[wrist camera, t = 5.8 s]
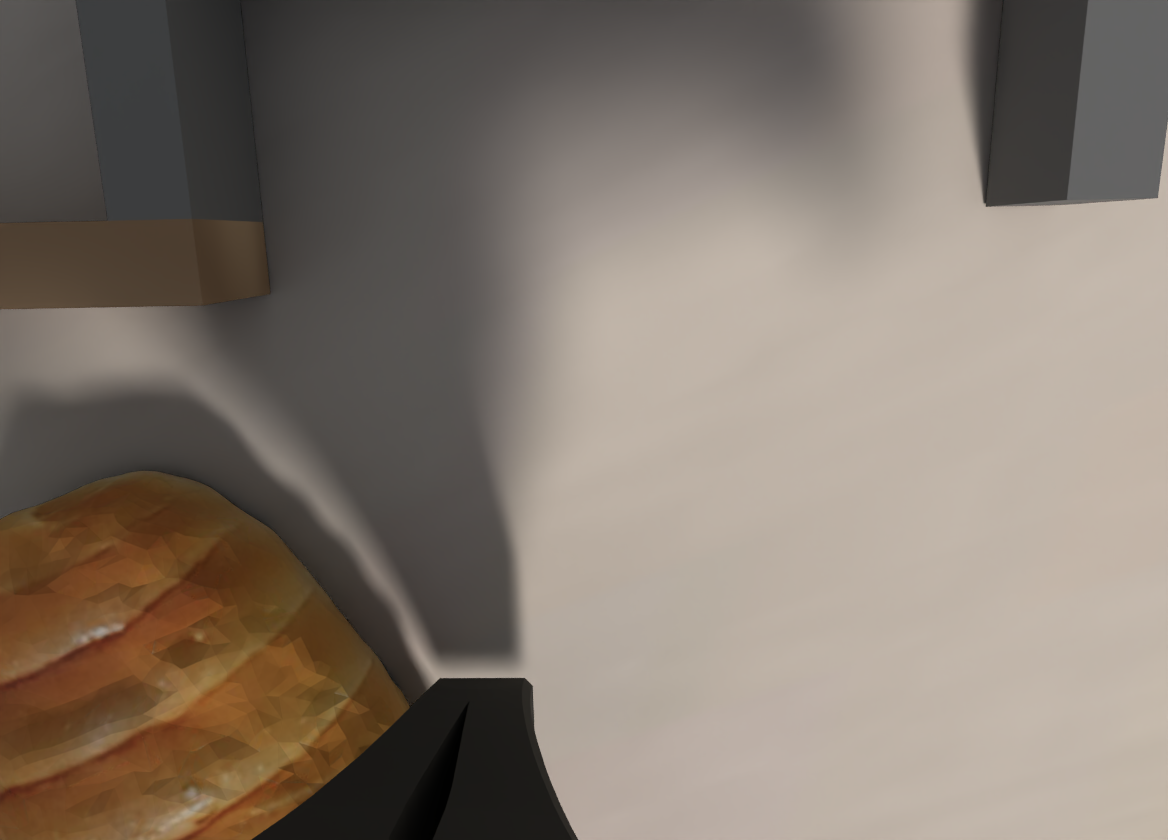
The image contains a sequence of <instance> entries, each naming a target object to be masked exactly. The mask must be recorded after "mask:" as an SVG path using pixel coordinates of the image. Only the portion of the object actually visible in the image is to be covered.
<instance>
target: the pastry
mask: <svg viewBox="0 0 1168 840" xmlns="http://www.w3.org/2000/svg"><path fill="white" fill-rule="evenodd" d="M409 708H410V706H409V704H408V703H407V701H406V699H405V697H404V695H403V693H402V691H401V690H400V689H399V688H398V687H397V686H396V685H395V684H394V682H393V681H392V680H391V678H390V676H389V675H388V673H387V671H386V669H385V667H384V666H383V664H382V663H381V661H380V660H379V658H378V657H377V656H376V654H375V653H374V652H373V651H372V650H371V648H370V647H369V646H368V645H367V644H366V643H365V642H364V641H363V640H362V639H361V638H360V636H359V635H358V634H357V632H356V631H355V630H354V629H353V627H352V626H351V625H350V624H349V622H348V621H347V620H346V619H345V617H344V616H343V615H342V614H341V612H340V611H339V610H338V609H337V608H336V606H335V605H334V603H333V602H332V600H331V599H330V598H329V596H328V595H327V594H326V592H325V591H324V590H323V589H322V587H321V586H320V585H319V584H318V582H317V581H316V580H315V579H314V577H313V576H312V575H311V574H310V573H309V571H308V570H307V569H306V568H305V567H304V565H303V564H302V563H301V562H300V561H299V560H298V559H297V557H296V556H295V555H294V554H293V553H292V552H291V551H290V549H289V548H288V547H287V546H286V544H285V543H284V542H283V541H282V540H281V539H280V537H279V536H278V535H277V534H276V533H275V532H274V531H273V530H272V529H270V528H269V527H267V526H266V525H264V524H263V523H261V522H260V521H258V520H256V519H255V518H253V517H252V516H250V515H248V514H247V513H245V512H244V511H242V510H241V509H239V508H238V507H236V506H235V505H234V504H232V503H231V502H229V501H228V500H227V499H225V498H224V497H223V496H222V495H220V494H219V493H218V492H216V491H215V490H214V489H212V488H210V487H208V486H207V485H204V484H202V483H200V482H197V481H194V480H190V479H187V478H183V477H179V476H174V475H170V474H166V473H162V472H157V471H136V472H130V473H126V474H122V475H119V476H114V477H109V478H105V479H100V480H98V481H95V482H92V483H89V484H87V485H84V486H82V487H80V488H78V489H76V490H74V491H71V492H69V493H67V494H65V495H63V496H60V497H58V498H55V499H53V500H50V501H48V502H45V503H43V504H40V505H37V506H34V507H30V508H27V509H23V510H20V511H17V512H14V513H11V514H9V515H7V516H5V517H3V518H1V519H0V840H251V839H253V838H254V837H256V836H257V835H258V834H260V833H261V832H263V831H264V830H266V829H267V828H269V827H270V826H271V825H273V824H274V823H276V822H277V821H279V820H280V819H282V818H283V817H284V816H286V815H287V814H288V813H290V812H291V811H293V810H294V809H295V808H297V807H298V806H299V805H301V804H302V803H303V802H305V801H306V800H307V799H308V798H310V797H311V796H312V795H314V794H315V793H316V792H317V791H318V790H320V789H321V788H322V787H323V786H324V785H325V784H327V783H328V782H329V781H330V780H331V779H333V778H334V777H335V776H336V775H337V774H338V773H340V772H341V771H342V770H343V769H344V768H346V767H347V766H348V765H349V764H350V763H352V762H353V761H354V760H355V759H356V758H357V757H359V756H360V755H361V754H362V753H363V752H364V751H365V750H366V749H367V748H368V747H369V746H370V745H372V744H373V743H374V742H375V741H376V740H377V739H378V738H379V737H380V736H381V735H382V734H383V733H384V732H385V731H386V730H388V729H389V728H390V727H391V726H392V725H393V724H394V723H395V722H396V721H397V720H398V719H399V718H400V717H401V716H402V715H403V714H404V713H405V712H406V711H407V710H408V709H409Z"/></svg>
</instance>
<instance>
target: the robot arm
mask: <svg viewBox="0 0 1168 840" xmlns="http://www.w3.org/2000/svg"><path fill="white" fill-rule="evenodd" d="M251 840H578V839H577V837H576V835H575V833H574V831H573V830H572V828H571V826H570V824H569V822H568V820H567V818H566V816H565V813H564V811H563V809H562V807H561V805H560V803H559V800H558V798H557V796H556V793H555V791H554V788H553V786H552V784H551V781H550V779H549V776H548V773H547V771H546V768H545V765H544V762H543V758H542V755H541V752H540V749H539V746H538V742H537V739H536V735H535V731H534V710H533V686H532V685H531V684H530V683H529V682H528V681H527V680H526V679H525V678H440V679H439V680H438V681H437V682H436V683H435V684H433V685H432V686H431V687H430V688H429V689H428V690H427V691H426V692H425V693H424V694H423V695H422V696H421V697H420V698H419V699H418V700H417V701H416V702H415V703H414V704H413V705H412V706H411V707H410V708H409V709H408V710H407V711H406V712H405V713H404V714H403V715H402V716H401V717H400V718H399V719H398V720H397V721H396V722H395V723H394V724H393V725H392V726H391V727H390V728H389V729H388V730H386V731H385V732H384V733H383V734H382V735H381V736H380V737H379V738H378V739H377V740H376V741H375V742H374V743H373V744H372V745H370V746H369V747H368V748H367V749H366V750H365V751H364V752H363V753H362V754H361V755H360V756H359V757H357V758H356V759H355V760H354V761H353V762H352V763H350V764H349V765H348V766H347V767H346V768H344V769H343V770H342V771H341V772H340V773H338V774H337V775H336V776H335V777H334V778H333V779H331V780H330V781H329V782H328V783H327V784H325V785H324V786H323V787H322V788H321V789H320V790H318V791H317V792H316V793H315V794H314V795H312V796H311V797H310V798H308V799H307V800H306V801H305V802H303V803H302V804H301V805H299V806H298V807H297V808H295V809H294V810H293V811H291V812H290V813H288V814H287V815H286V816H284V817H283V818H282V819H280V820H279V821H277V822H276V823H274V824H273V825H271V826H270V827H269V828H267V829H266V830H264V831H263V832H261V833H260V834H258V835H257V836H256V837H254V838H253V839H251Z"/></svg>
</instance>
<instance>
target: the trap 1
mask: <svg viewBox="0 0 1168 840" xmlns="http://www.w3.org/2000/svg"><path fill="white" fill-rule="evenodd" d="M76 5H77V12H78V19H79V26H80V33H81V40H82V47H83V54H84V60H85V67H86V74H87V81H88V88H89V95H90V102H91V109H92V116H93V123H94V130H95V137H96V144H97V151H98V157H99V164H100V171H101V178H102V185H103V192H104V199H105V206H106V213H107V220H108V221H118V220H164V219H205V220H227V221H249V222H263V217H262V208H261V198H260V188H259V179H258V169H257V159H256V150H255V140H254V130H253V121H252V111H251V101H250V92H249V82H248V73H247V63H246V53H245V44H244V34H243V24H242V15H241V5H240V0H76ZM1167 122H1168V0H1003V11H1002V23H1001V35H1000V46H999V58H998V70H997V81H996V93H995V105H994V117H993V128H992V140H991V152H990V163H989V175H988V187H987V198H986V207H991V206H1038V205H1067V204H1081V203H1095V202H1109V201H1123V200H1137V199H1151V198H1158V191H1159V184H1160V176H1161V168H1162V161H1163V153H1164V145H1165V138H1166V130H1167Z"/></svg>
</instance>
